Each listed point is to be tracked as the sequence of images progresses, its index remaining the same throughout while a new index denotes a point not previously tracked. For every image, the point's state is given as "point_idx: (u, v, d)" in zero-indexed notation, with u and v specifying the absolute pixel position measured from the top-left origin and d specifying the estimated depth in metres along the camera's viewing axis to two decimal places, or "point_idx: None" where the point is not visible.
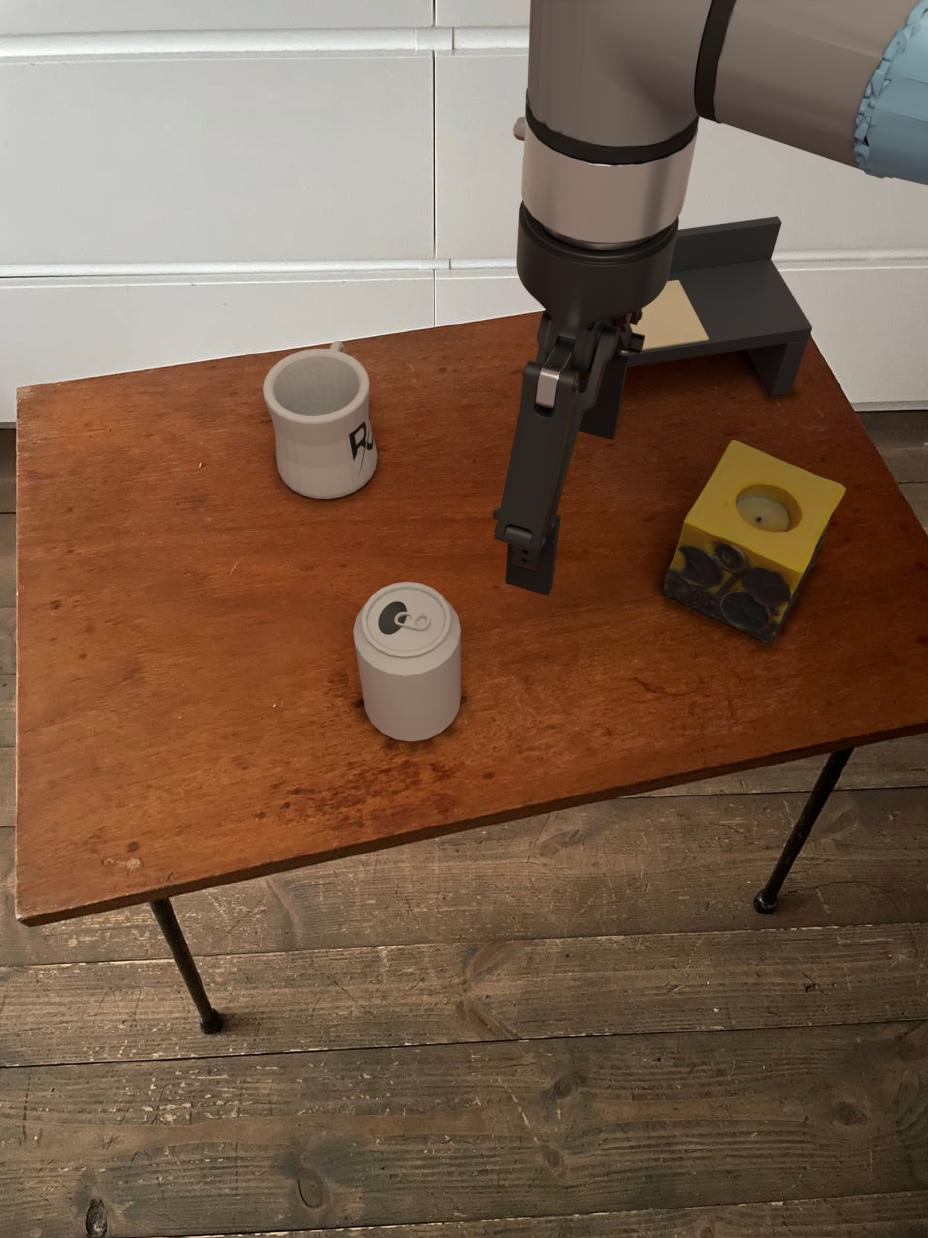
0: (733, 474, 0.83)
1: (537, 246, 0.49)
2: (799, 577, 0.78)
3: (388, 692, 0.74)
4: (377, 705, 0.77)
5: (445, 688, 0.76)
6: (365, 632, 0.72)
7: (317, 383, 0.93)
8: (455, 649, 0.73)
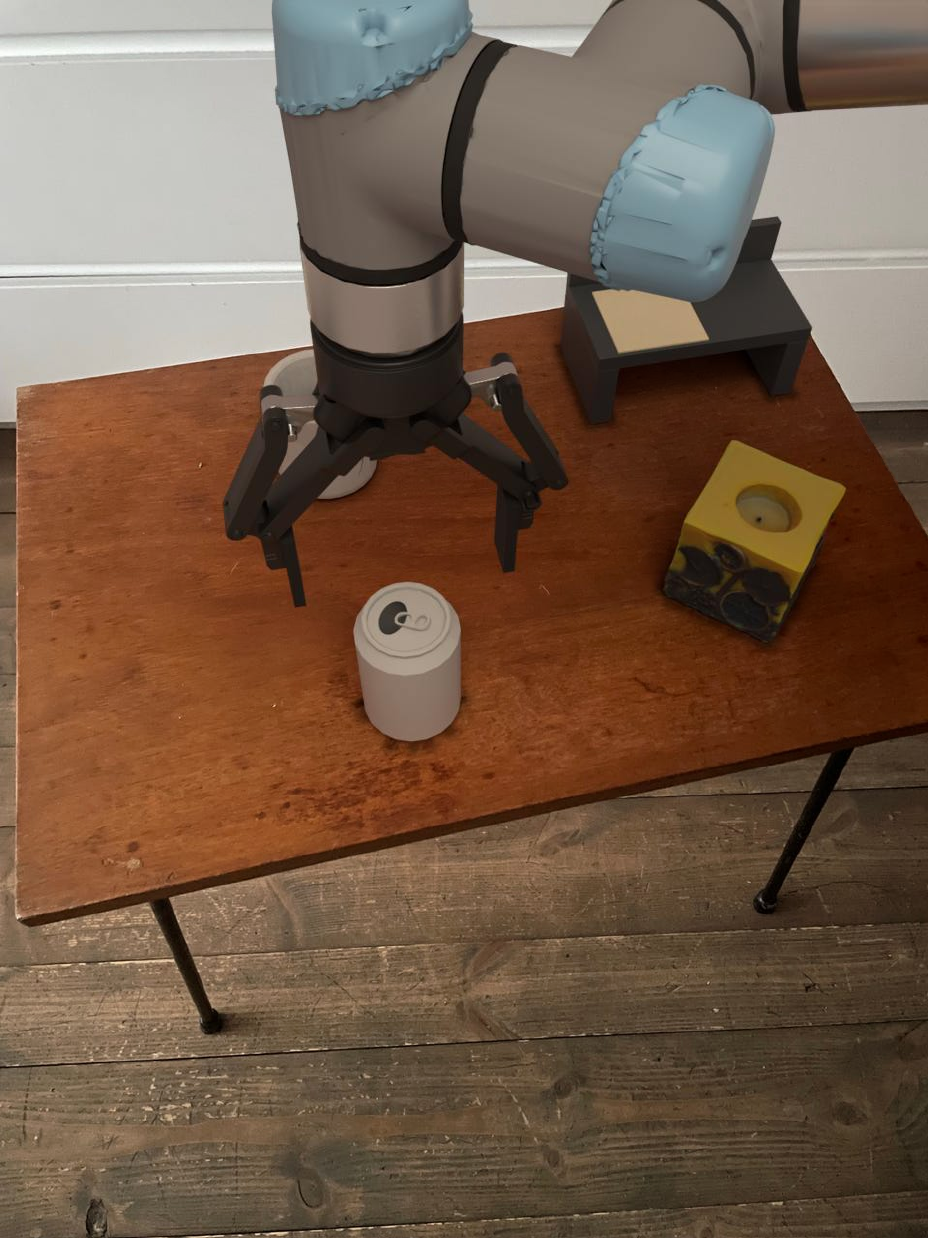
0: (733, 475, 0.83)
1: None
2: (799, 577, 0.78)
3: (388, 692, 0.74)
4: (377, 705, 0.77)
5: (445, 688, 0.76)
6: (365, 632, 0.72)
7: None
8: (455, 649, 0.73)
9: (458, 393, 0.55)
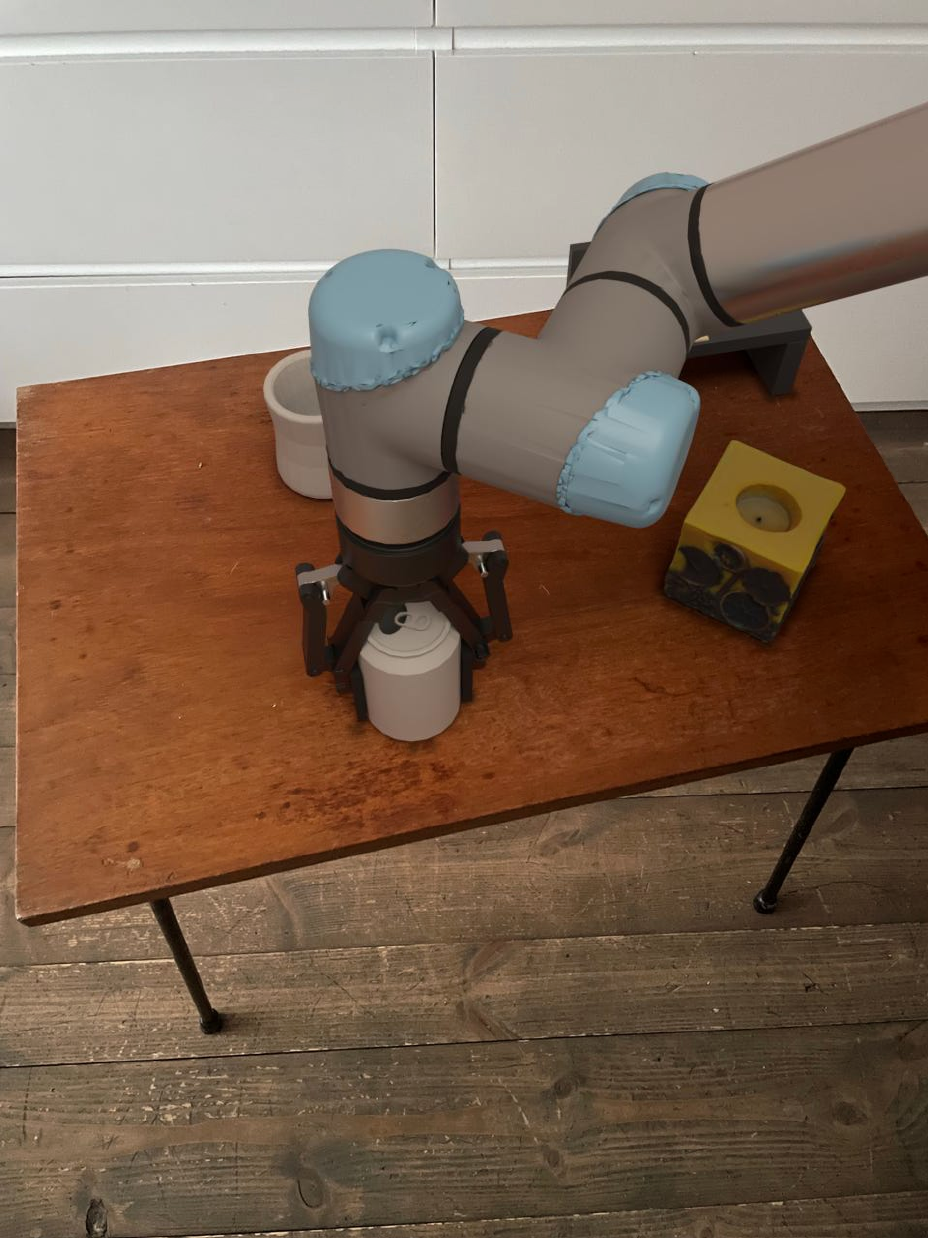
0: (733, 475, 0.83)
1: None
2: (799, 577, 0.78)
3: (388, 692, 0.74)
4: (377, 705, 0.77)
5: (445, 688, 0.76)
6: None
7: None
8: (455, 649, 0.73)
9: (460, 559, 0.67)
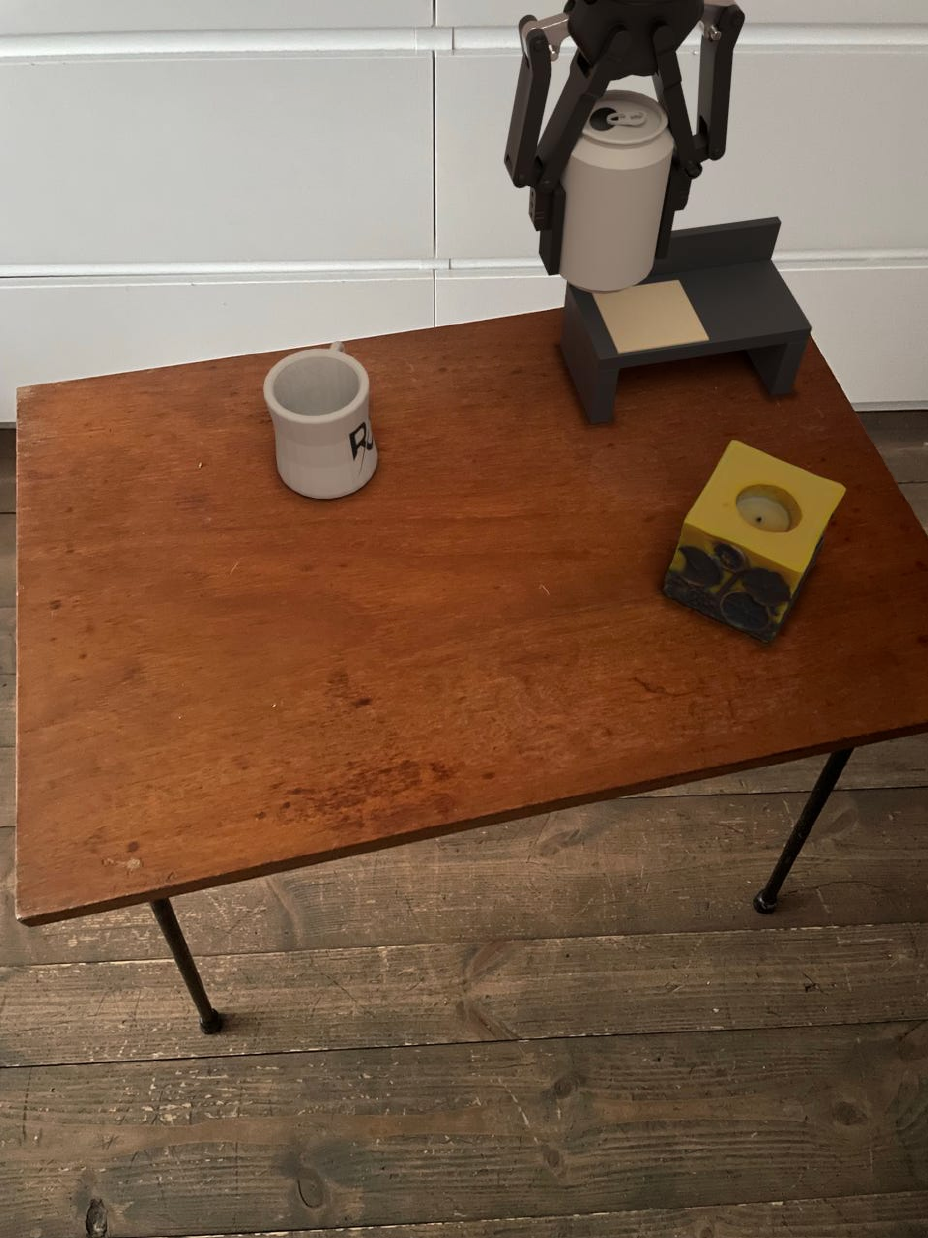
0: (733, 475, 0.83)
1: None
2: (799, 577, 0.78)
3: (597, 204, 0.70)
4: (577, 236, 0.73)
5: (653, 208, 0.71)
6: None
7: (317, 383, 0.93)
8: (670, 151, 0.69)
9: (698, 3, 0.63)
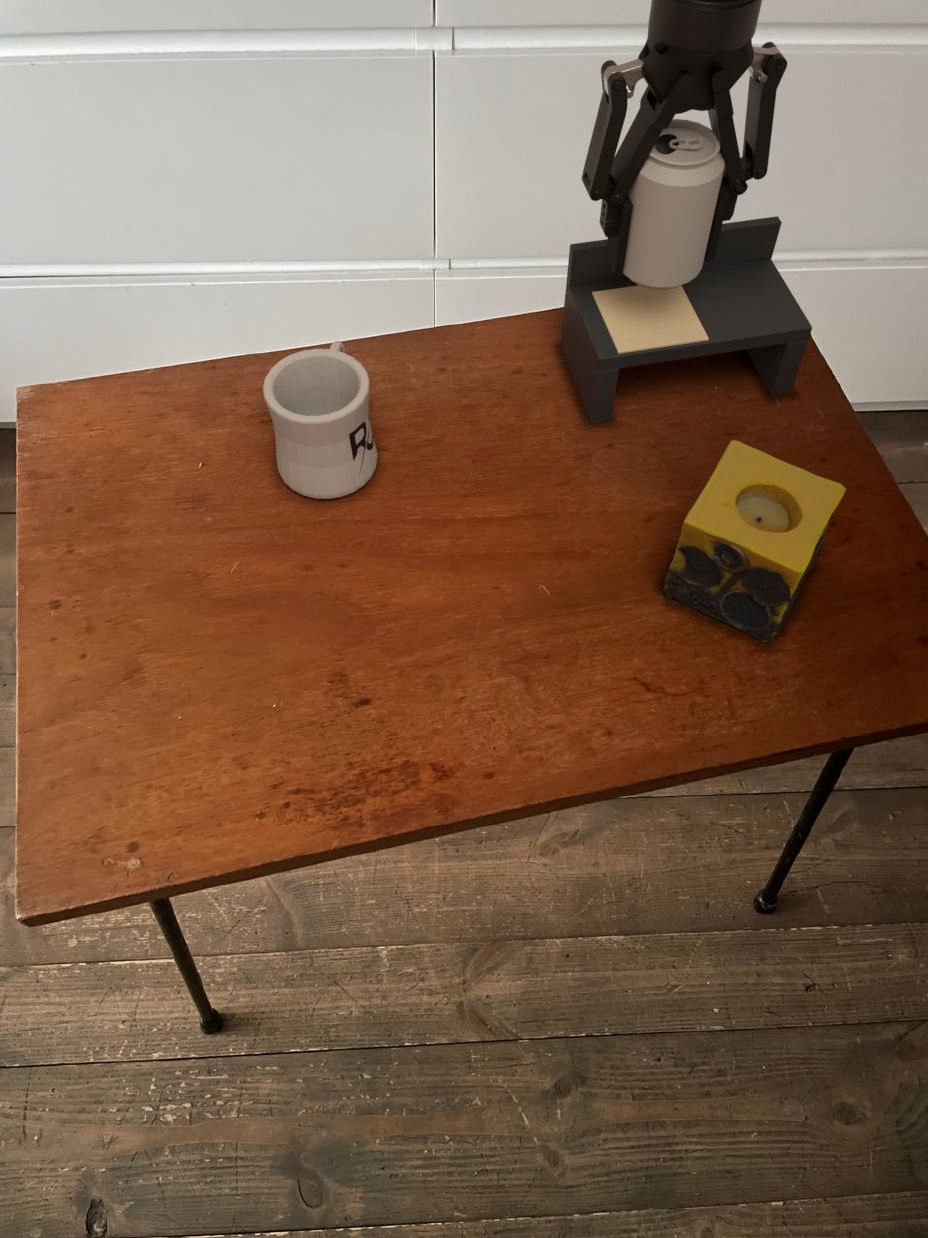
0: (733, 475, 0.83)
1: None
2: (799, 577, 0.78)
3: (659, 214, 0.84)
4: (641, 241, 0.87)
5: (706, 218, 0.85)
6: None
7: (317, 383, 0.93)
8: (722, 171, 0.83)
9: (749, 53, 0.76)
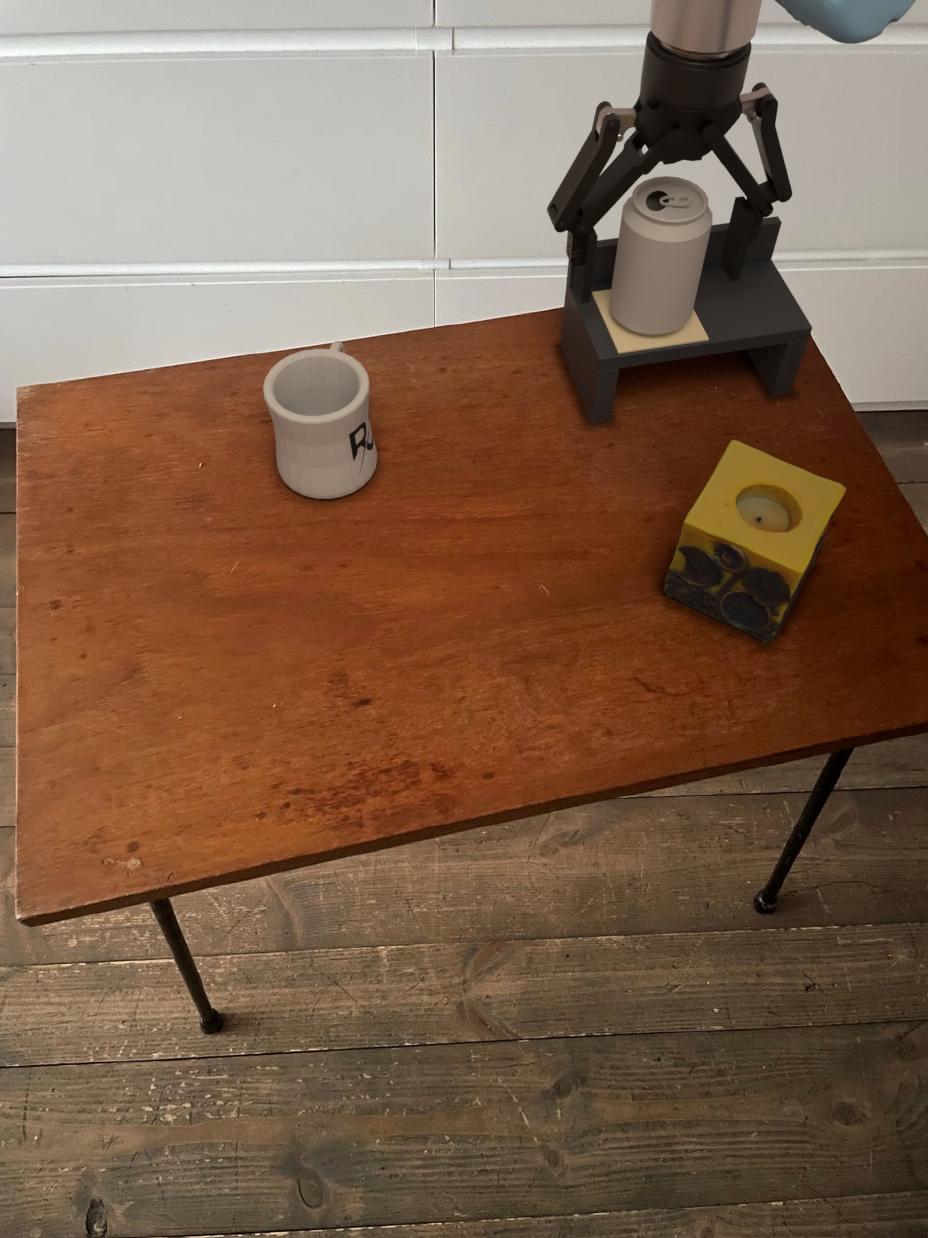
0: (733, 475, 0.83)
1: None
2: (799, 577, 0.78)
3: (650, 267, 0.88)
4: (633, 291, 0.91)
5: (695, 270, 0.89)
6: (638, 206, 0.86)
7: (317, 383, 0.93)
8: (710, 227, 0.87)
9: (735, 105, 0.80)
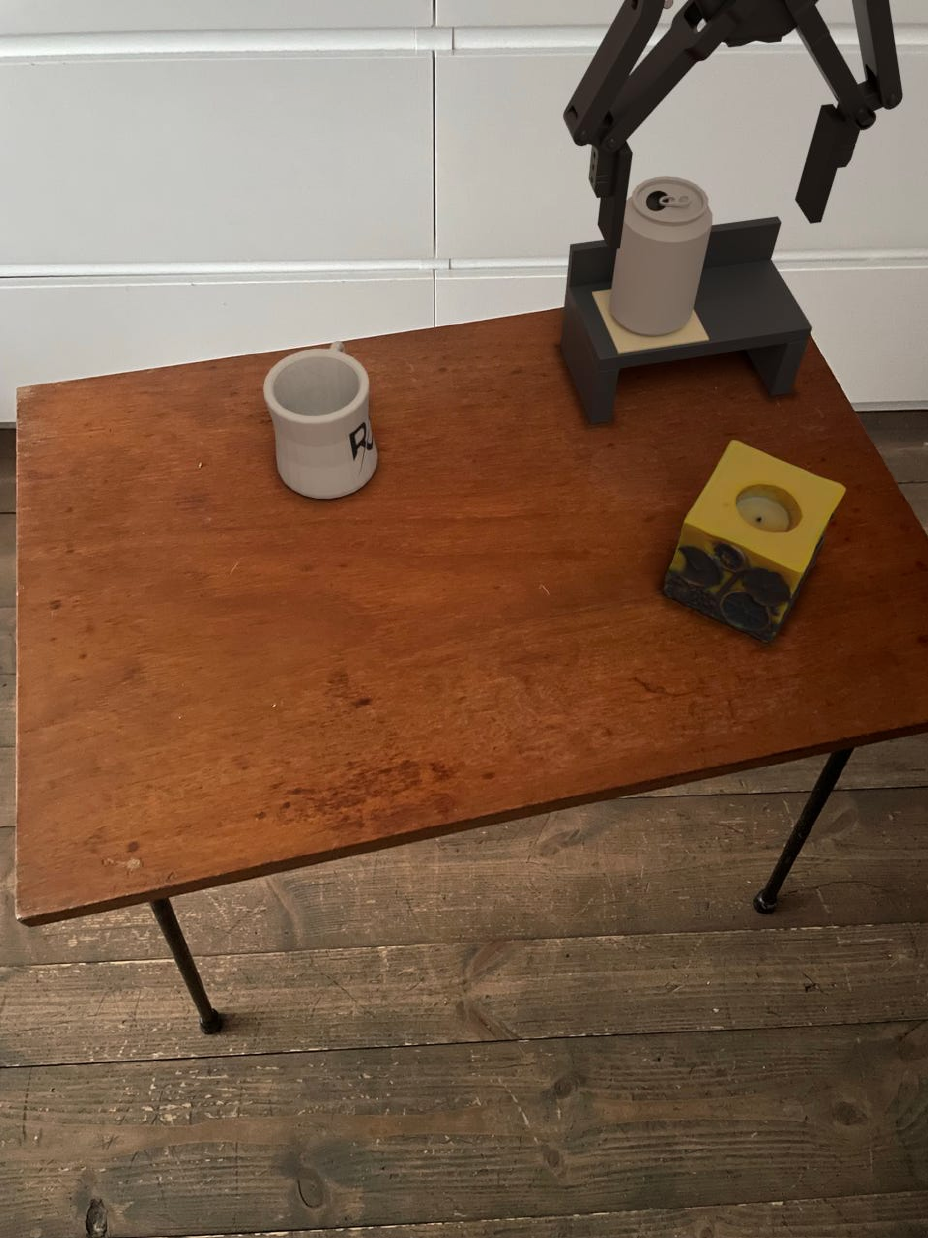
0: (733, 475, 0.83)
1: None
2: (799, 577, 0.78)
3: (650, 267, 0.88)
4: (633, 291, 0.91)
5: (695, 270, 0.89)
6: (638, 206, 0.86)
7: (317, 383, 0.93)
8: (710, 227, 0.87)
9: None
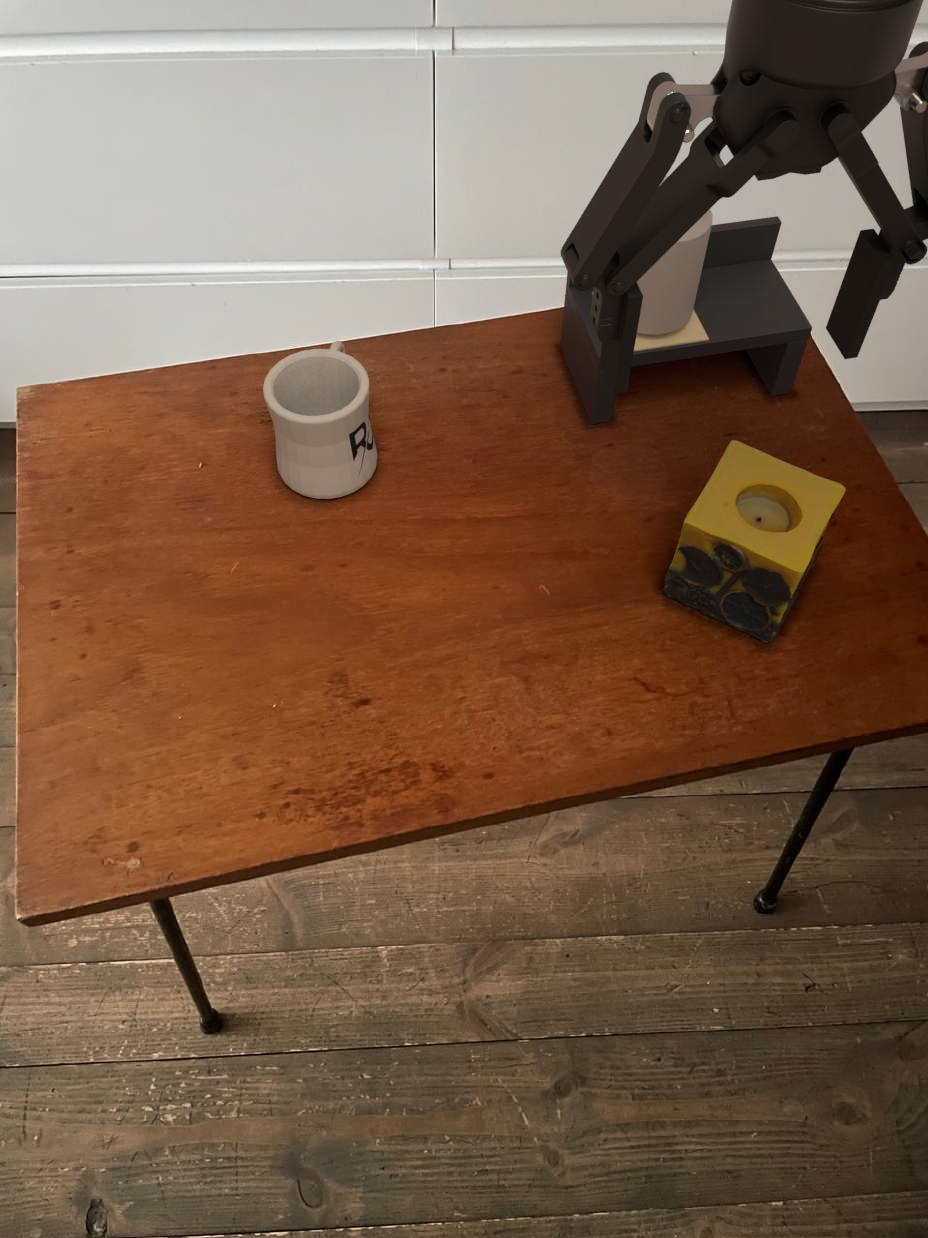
0: (733, 475, 0.83)
1: None
2: (799, 577, 0.78)
3: None
4: None
5: (695, 270, 0.89)
6: None
7: (317, 383, 0.93)
8: (710, 227, 0.87)
9: (886, 81, 0.46)
